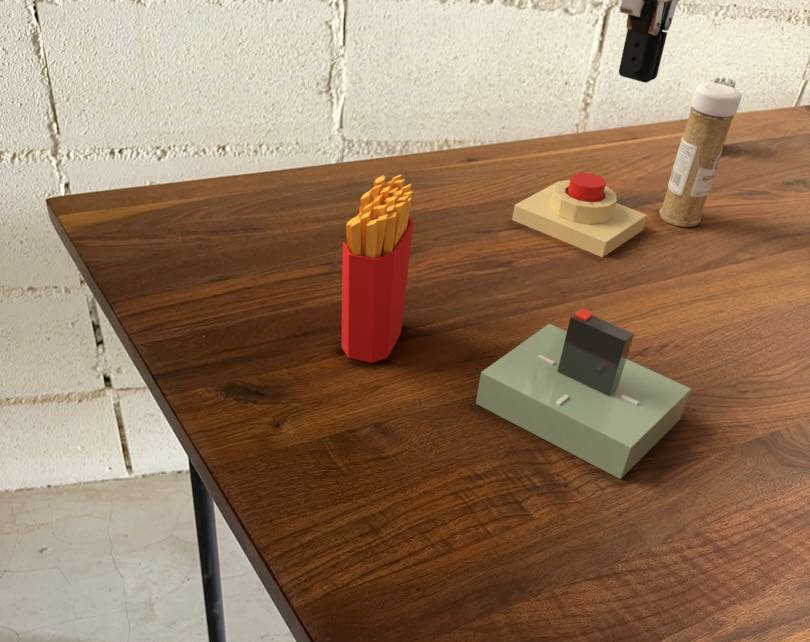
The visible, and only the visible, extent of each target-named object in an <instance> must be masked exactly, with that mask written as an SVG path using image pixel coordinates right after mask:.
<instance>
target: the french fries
mask: <svg viewBox="0 0 810 642" xmlns="http://www.w3.org/2000/svg"><path fill="white" fill-rule="evenodd" d="M402 175H403V173H402V174H398V175H396V176H393V177H392V178H391V180H390V181H386V175H385V174H382V175H381V176H379V177H377V178H376V179H375V180H374V181H373V187H372V188H371V189H370V190H369V191H367V192H365V193H364V194H363V195H361V198H360V207H359V208H358V211H359V213H358V214H357V215H356V216H354V217H353V218H350V220H349V221H347V223H346V226H345V229H346V230H345V232H346V242H342V264H341V265H342V269H341V271H342V275H341V276H342V277H341V279H342V280H341V349H342V351H343V352H344V353H345V355H346V357H347V358H348V359H354V360H357V361H362V362H365V363H371V364H372V363H376V362H379V361H382V360H385V359H387V358H389V356H390V354H391V353H392V351H393V349H394V348H395V346H396V344H397V342H398V340H399V338H400V336H401V333H402V329H403V319H404V310H405V302H406V292H407V283H408V275H409V265H410V258H411V257H410V256H411V248H412V247H411V246H412V239H413V230H414V221H413V220H412V218H411V216H410V211H411V205H412V199H413V193H414V190H412V183H410V184H407V185H406V184H405V182H406V181H405V179H406V178H403V179H402Z"/></svg>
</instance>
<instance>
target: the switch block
mask: <svg viewBox="0 0 810 642" xmlns="http://www.w3.org/2000/svg"><path fill="white" fill-rule="evenodd" d="M569 184H570V179H566V180H561V181H560V180H559V181H556V182H555V183H552V184H551V185H548V186H546V187H545V188H544V189H542V190H539V191H538V192H536V193H534V194H532V195H531V196H529V197H526V198H524V199H523V200H521V201H519V202H517V203H516V204H514V207H513V212H512V218H511V220H512V221H514V222H516V223H518V224H521V225H523V226H525V227H528V228H530V229H532V230H535V231H538V232H540V233H543V234H545V235H547V236H549V237H552V238H555V239H557V240H560V241H562V242H564V243H567V244H569V245H571V246H574V247H576V248H578V249H581V250H584V251H586V252H588V253H591V254H593V255H596V256H598V257H601V258H604V257H605V256H607V255H609V254H610V253H611V252H613V251H614V250H616V249H617V248H619V247H621V246H622V245H624V244H625V243H626V242H627V241H629V240H631V239H632V238H634V237H635V236H636V235H638V234H639V233H641V232H642V231H644V229H645V226H646V221H647V219H648V214H646V213H644V212H641V211H639V210H635V209H633V208H631V207H628V206H625V205H622V204H621V203H617V200H618V198H617V193H616V192H614V190H612V189H611V188H609V186H606V185H605V189H604V193H603V197H602V200H601V201H600V202H586V201H579V200H576V199H574V198H571V197H570V196H569V195H568V194H567V193H568V188H569Z"/></svg>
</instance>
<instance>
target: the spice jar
mask: <svg viewBox="0 0 810 642" xmlns="http://www.w3.org/2000/svg"><path fill="white" fill-rule="evenodd" d="M691 98H692V99H691V102H690V106H691V107H690V113H689V115H688V118H687V122H686V125H685V129H684V132H683V135H682V136H681V139H680V142H679V146H678V149H677V153H676V157H675V160H674V163H673V166H672V170H671V174H670V177H669V180H668V184H667V190H666V193H665V196H664V200H663V203H662V206H661V208H660V209H659V212H658V213H659V217H660V218H661V219H662V220H663V221H664V222H665V223H666V224H668V225H672V226H675V227H679V228H692V227H696V226H697V225H699V224H700V222H701V219H702V213H703V210H704V207H705V203H706V202H707V198H708V195H709V193H710V191H711V187H712V184H713V181H714V178H715V175H716V172H717V169H718V166H719V162H720V159H721V156H722V154H723V149H724V145H725V143H726V140H727V136H728V132H729V130H730V127H731V125H732V121H733V119H734V117H735V115H736V114H737V112H738V109H739V106H740V103H741V101H742V94H741V92H740V90H738V89H737V88H736V87H735V88H733V87H730V86H727V85H723V84H718V83H714V82H703V83H699V84H698V85H697V86H696V87H695V89H694V92H693V96H692V97H691Z"/></svg>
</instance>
